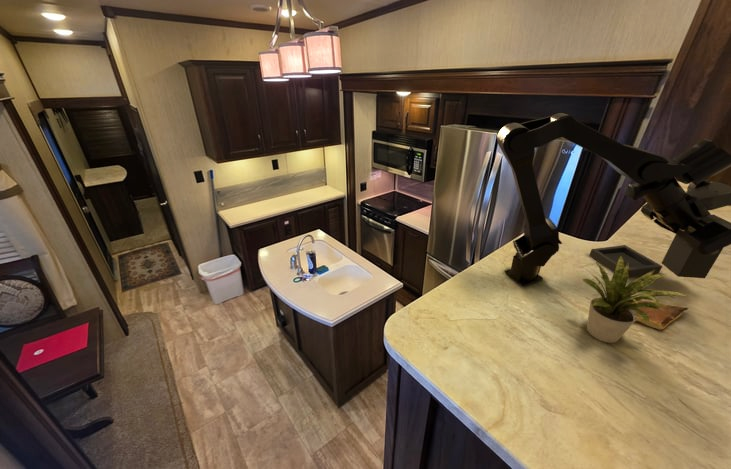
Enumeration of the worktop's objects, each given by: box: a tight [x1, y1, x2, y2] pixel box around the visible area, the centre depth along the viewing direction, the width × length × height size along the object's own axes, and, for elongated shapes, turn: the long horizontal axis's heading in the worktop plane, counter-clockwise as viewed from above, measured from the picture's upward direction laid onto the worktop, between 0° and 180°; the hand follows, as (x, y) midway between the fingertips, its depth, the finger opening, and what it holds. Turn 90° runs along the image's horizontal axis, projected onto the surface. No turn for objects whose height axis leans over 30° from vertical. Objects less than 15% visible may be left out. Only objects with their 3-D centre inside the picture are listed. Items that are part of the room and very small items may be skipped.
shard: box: [634, 299, 689, 331], centre depth 59 cm, size 11×8×2 cm
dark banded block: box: [661, 214, 731, 279], centre depth 63 cm, size 5×6×13 cm
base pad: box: [589, 244, 663, 278], centre depth 76 cm, size 10×10×2 cm
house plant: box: [581, 256, 690, 343], centre depth 53 cm, size 14×14×16 cm
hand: (703, 246), depth 63 cm, fingers closed on dark banded block, 5 cm apart
